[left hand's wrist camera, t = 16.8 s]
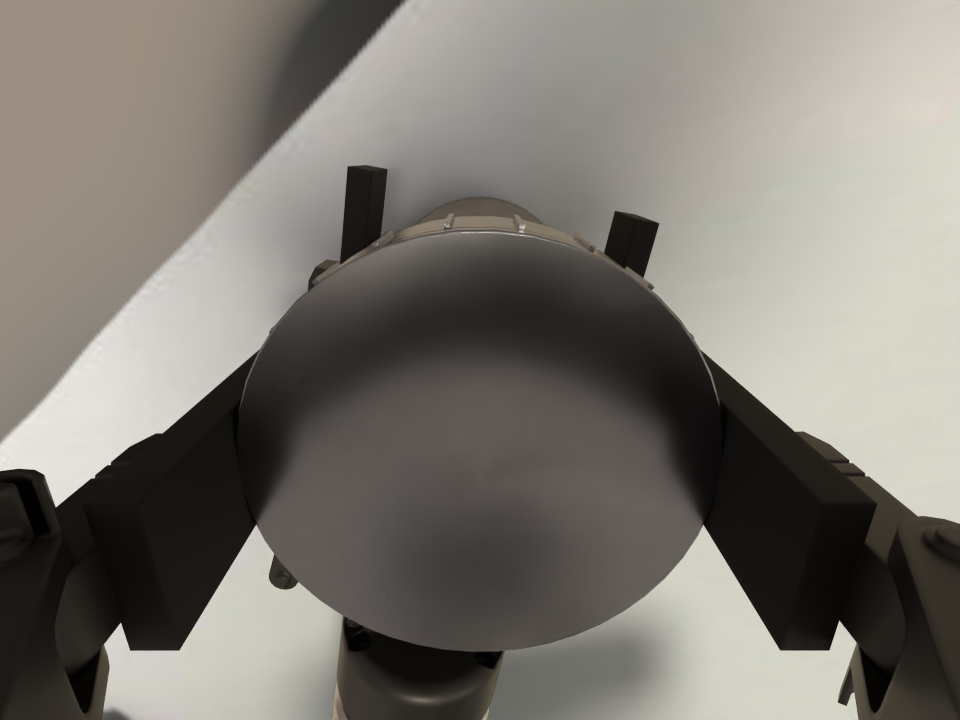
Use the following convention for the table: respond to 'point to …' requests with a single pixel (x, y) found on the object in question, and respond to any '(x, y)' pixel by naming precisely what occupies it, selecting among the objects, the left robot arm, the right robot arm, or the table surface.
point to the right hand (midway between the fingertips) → (504, 193)
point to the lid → (479, 436)
